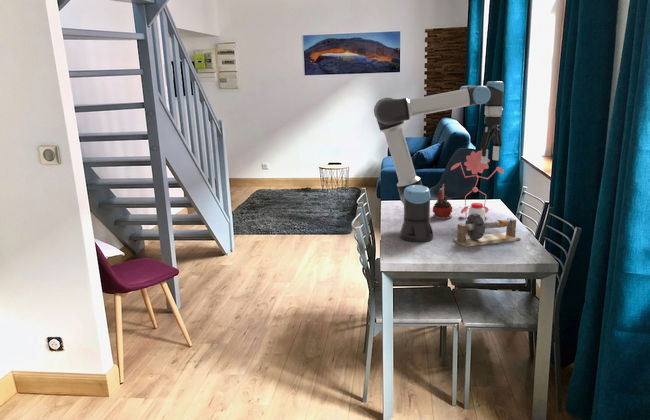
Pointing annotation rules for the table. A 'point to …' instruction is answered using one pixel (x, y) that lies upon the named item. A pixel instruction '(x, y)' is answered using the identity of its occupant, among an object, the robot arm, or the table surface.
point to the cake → (442, 206)
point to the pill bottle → (477, 210)
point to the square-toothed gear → (476, 226)
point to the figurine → (475, 166)
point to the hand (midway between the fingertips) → (489, 161)
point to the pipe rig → (488, 238)
